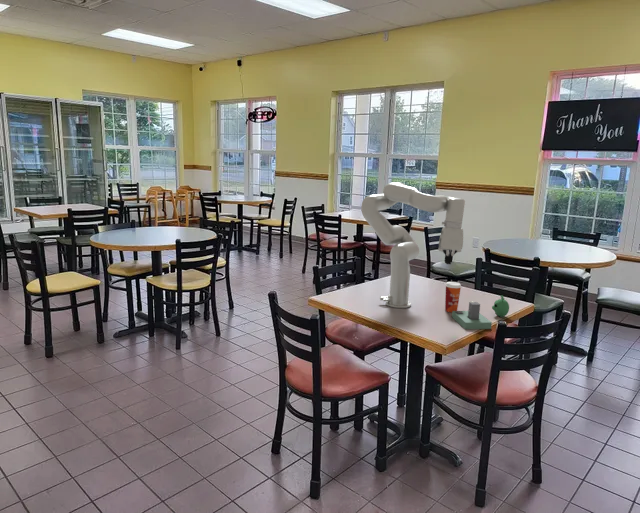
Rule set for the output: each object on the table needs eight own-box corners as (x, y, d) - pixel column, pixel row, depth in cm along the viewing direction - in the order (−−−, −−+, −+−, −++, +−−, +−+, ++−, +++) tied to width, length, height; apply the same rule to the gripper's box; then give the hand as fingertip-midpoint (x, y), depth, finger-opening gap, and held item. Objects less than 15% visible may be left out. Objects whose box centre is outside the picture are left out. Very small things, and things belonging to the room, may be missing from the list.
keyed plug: (470, 325, 213) (472, 304, 211) (466, 322, 218) (468, 301, 216) (478, 325, 214) (480, 304, 212) (473, 322, 218) (475, 301, 216)
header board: (464, 329, 209) (465, 321, 208) (451, 316, 225) (452, 310, 224) (491, 328, 210) (491, 321, 210) (476, 316, 226) (477, 310, 225)
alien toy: (490, 313, 232) (492, 293, 230) (507, 315, 230) (509, 295, 228) (491, 317, 226) (493, 297, 224) (508, 319, 224) (511, 299, 222)
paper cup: (450, 314, 229) (453, 286, 226) (439, 309, 235) (442, 282, 232) (462, 312, 232) (465, 284, 229) (451, 307, 239) (454, 280, 236)
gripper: (439, 225, 213) (434, 265, 217) (472, 227, 214) (466, 266, 219) (434, 222, 220) (429, 260, 225) (465, 224, 222) (460, 262, 226)
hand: (447, 263), depth 222 cm, fingers closed
